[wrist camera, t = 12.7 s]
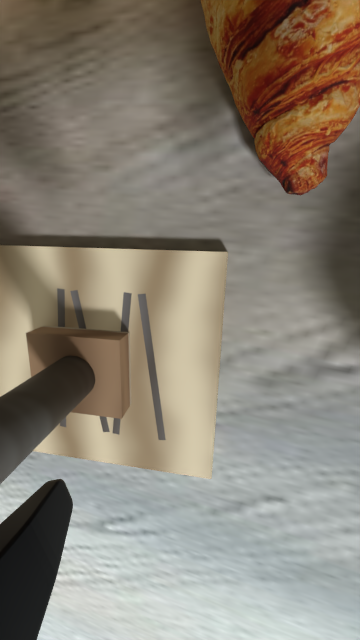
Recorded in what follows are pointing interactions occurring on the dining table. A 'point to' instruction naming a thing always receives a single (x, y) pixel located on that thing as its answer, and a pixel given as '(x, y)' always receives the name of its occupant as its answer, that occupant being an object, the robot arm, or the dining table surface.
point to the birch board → (145, 345)
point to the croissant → (290, 77)
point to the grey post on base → (63, 386)
